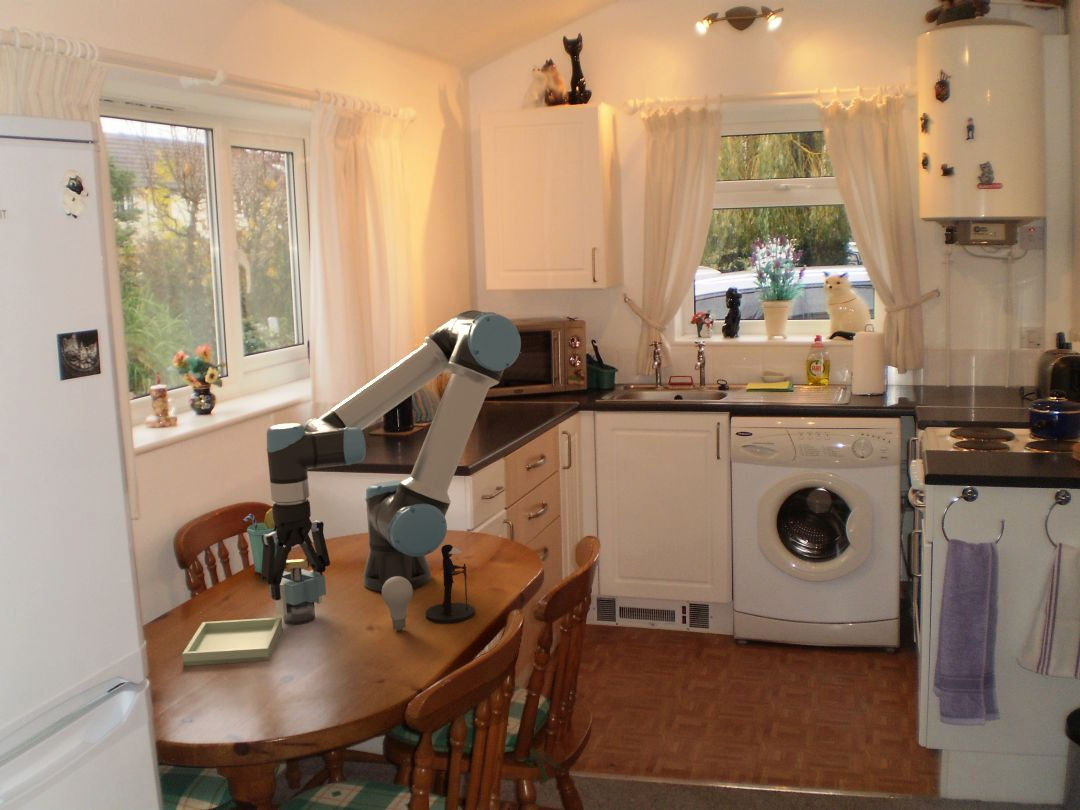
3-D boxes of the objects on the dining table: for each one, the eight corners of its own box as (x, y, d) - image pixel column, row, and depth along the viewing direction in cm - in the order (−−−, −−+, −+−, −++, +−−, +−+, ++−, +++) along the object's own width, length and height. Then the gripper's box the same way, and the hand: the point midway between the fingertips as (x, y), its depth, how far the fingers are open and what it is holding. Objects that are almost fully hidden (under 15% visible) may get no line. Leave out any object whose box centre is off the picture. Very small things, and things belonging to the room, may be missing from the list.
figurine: (477, 621, 222) (474, 549, 219) (427, 626, 220) (423, 553, 217) (471, 604, 231) (468, 535, 229) (423, 609, 230) (419, 540, 227)
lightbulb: (420, 626, 220) (417, 573, 218) (406, 637, 214) (403, 582, 212) (392, 623, 222) (389, 571, 220) (378, 634, 216) (375, 580, 214)
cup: (263, 581, 252) (257, 518, 250) (233, 579, 255) (228, 516, 252) (294, 563, 265) (289, 502, 263) (266, 561, 268) (261, 501, 265)
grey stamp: (317, 612, 230) (313, 555, 228) (313, 623, 223) (308, 564, 221) (286, 614, 229) (281, 557, 227) (281, 625, 223) (276, 566, 221)
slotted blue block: (266, 596, 226) (264, 577, 226) (298, 585, 232) (296, 567, 232) (298, 606, 219) (297, 587, 218) (330, 595, 225) (329, 577, 224)
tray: (282, 628, 221) (281, 617, 221) (268, 660, 205) (267, 648, 205) (203, 633, 220) (202, 622, 220) (183, 665, 204) (182, 653, 204)
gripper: (321, 487, 232) (328, 590, 236) (235, 508, 217) (245, 618, 221) (343, 492, 228) (350, 597, 231) (257, 514, 212) (266, 626, 216)
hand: (299, 607), depth 226 cm, fingers closed on slotted blue block, 8 cm apart
